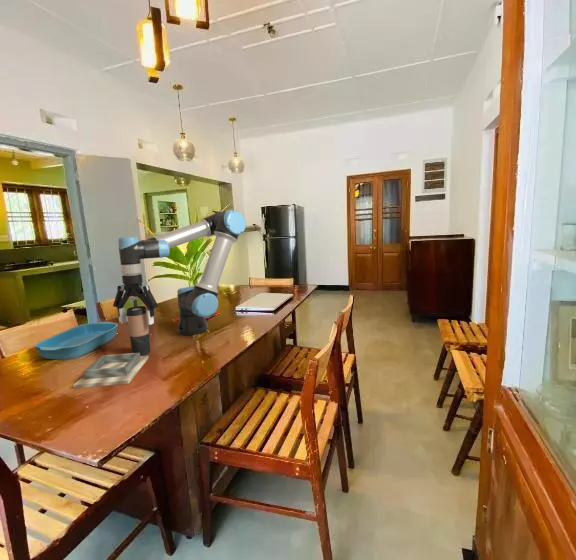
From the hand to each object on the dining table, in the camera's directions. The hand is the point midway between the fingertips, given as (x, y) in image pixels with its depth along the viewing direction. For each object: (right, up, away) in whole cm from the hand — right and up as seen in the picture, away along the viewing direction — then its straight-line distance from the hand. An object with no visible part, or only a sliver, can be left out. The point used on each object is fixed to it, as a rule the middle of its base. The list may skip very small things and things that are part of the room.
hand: (137, 323), depth 138 cm
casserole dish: (-32, -13, +13) cm, 37 cm away
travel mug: (+1, -13, +2) cm, 14 cm away
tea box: (-31, -5, +59) cm, 66 cm away
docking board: (-1, -16, -16) cm, 23 cm away
